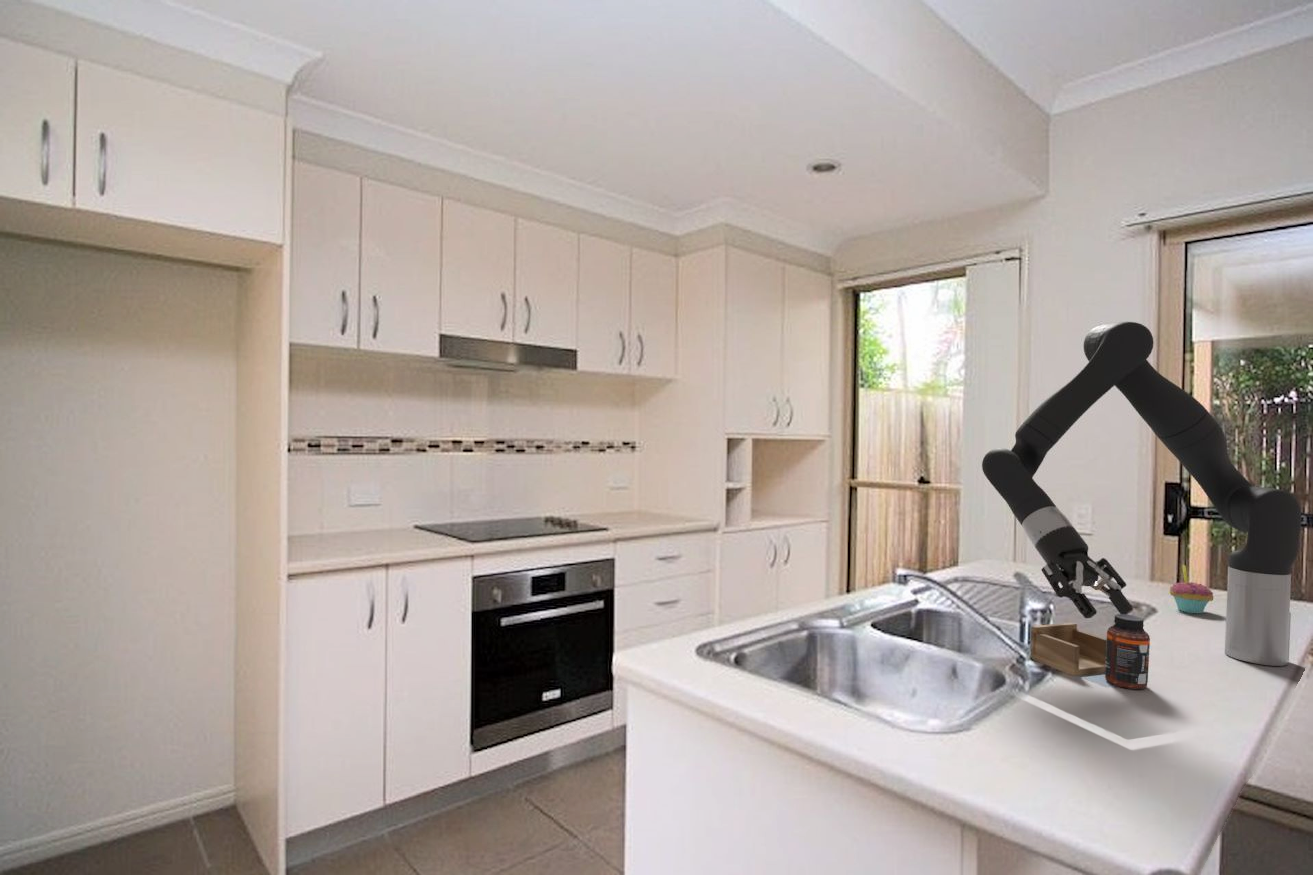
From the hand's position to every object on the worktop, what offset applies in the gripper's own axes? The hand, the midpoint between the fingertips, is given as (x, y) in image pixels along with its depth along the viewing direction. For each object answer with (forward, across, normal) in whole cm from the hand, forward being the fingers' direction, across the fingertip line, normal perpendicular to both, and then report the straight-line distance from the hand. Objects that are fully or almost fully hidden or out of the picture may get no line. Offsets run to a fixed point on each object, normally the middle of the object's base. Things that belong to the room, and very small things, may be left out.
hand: (1110, 614), depth 118 cm
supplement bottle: (+10, 0, +6) cm, 12 cm away
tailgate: (+7, 0, +9) cm, 11 cm away
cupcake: (-13, +68, +30) cm, 76 cm away
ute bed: (+4, 0, +13) cm, 14 cm away
